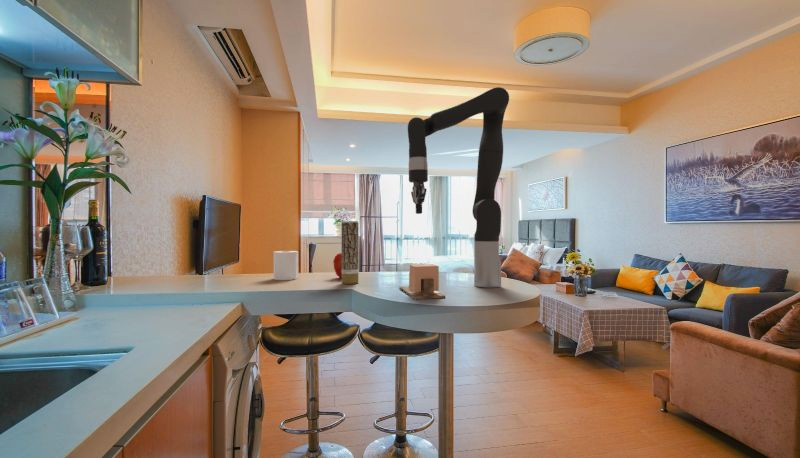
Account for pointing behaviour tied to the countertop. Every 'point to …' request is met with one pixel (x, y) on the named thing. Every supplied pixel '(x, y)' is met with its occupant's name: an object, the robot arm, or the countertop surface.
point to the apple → (338, 264)
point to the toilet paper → (285, 265)
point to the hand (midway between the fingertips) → (418, 213)
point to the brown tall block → (350, 252)
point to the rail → (423, 290)
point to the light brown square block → (423, 276)
